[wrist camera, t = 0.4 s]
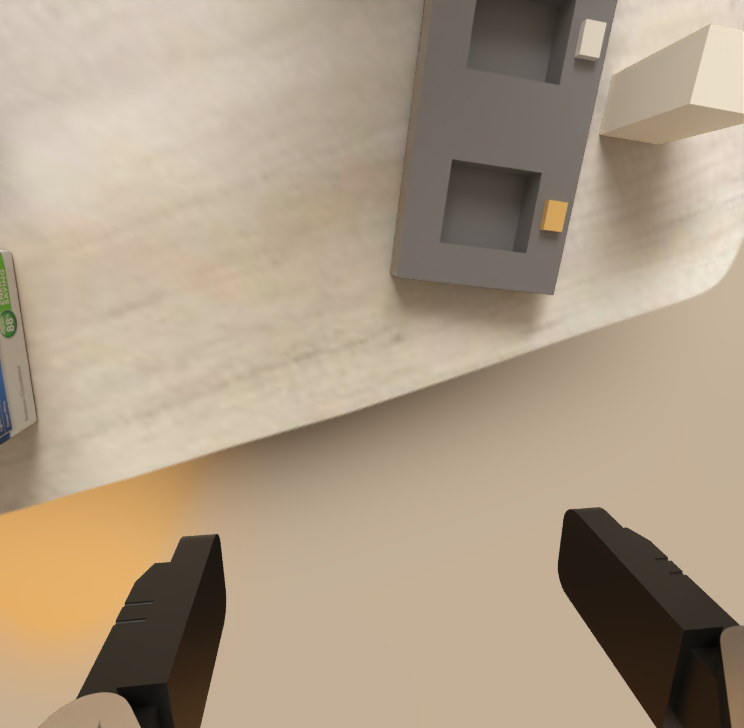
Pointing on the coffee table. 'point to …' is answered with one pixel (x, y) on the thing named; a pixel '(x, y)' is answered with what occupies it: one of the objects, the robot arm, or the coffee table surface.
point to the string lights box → (13, 358)
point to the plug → (680, 89)
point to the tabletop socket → (497, 139)
